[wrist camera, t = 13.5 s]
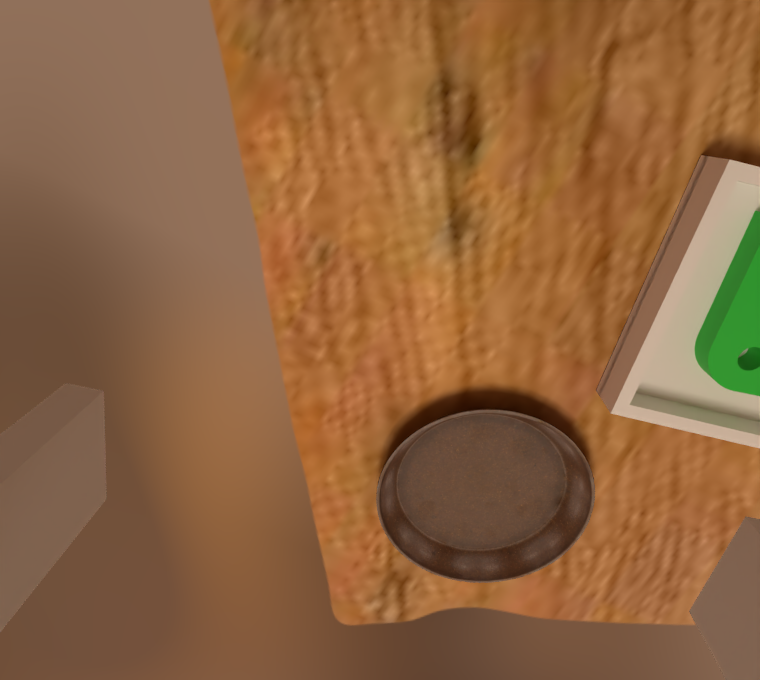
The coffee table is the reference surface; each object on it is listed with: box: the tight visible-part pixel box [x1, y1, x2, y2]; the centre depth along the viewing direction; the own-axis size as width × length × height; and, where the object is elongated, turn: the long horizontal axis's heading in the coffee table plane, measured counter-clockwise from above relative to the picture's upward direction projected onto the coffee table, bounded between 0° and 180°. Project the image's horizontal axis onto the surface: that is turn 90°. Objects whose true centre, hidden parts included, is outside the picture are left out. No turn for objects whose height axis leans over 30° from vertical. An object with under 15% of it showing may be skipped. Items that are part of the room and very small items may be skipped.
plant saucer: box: [377, 409, 595, 583], centre depth 45 cm, size 18×18×3 cm
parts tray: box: [596, 155, 760, 448], centre depth 37 cm, size 18×14×4 cm
